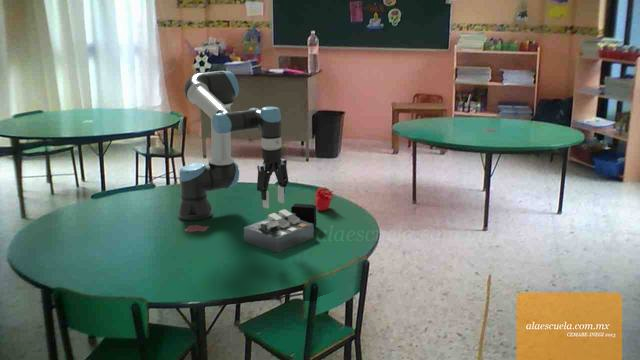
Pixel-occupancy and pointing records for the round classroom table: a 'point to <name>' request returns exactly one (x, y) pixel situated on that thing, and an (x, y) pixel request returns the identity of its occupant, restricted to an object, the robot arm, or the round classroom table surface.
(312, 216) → the electronic device
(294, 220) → the rocker far
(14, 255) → the round classroom table surface
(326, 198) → the heart organ
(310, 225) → the console
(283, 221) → the rocker mid
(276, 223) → the rocker near
